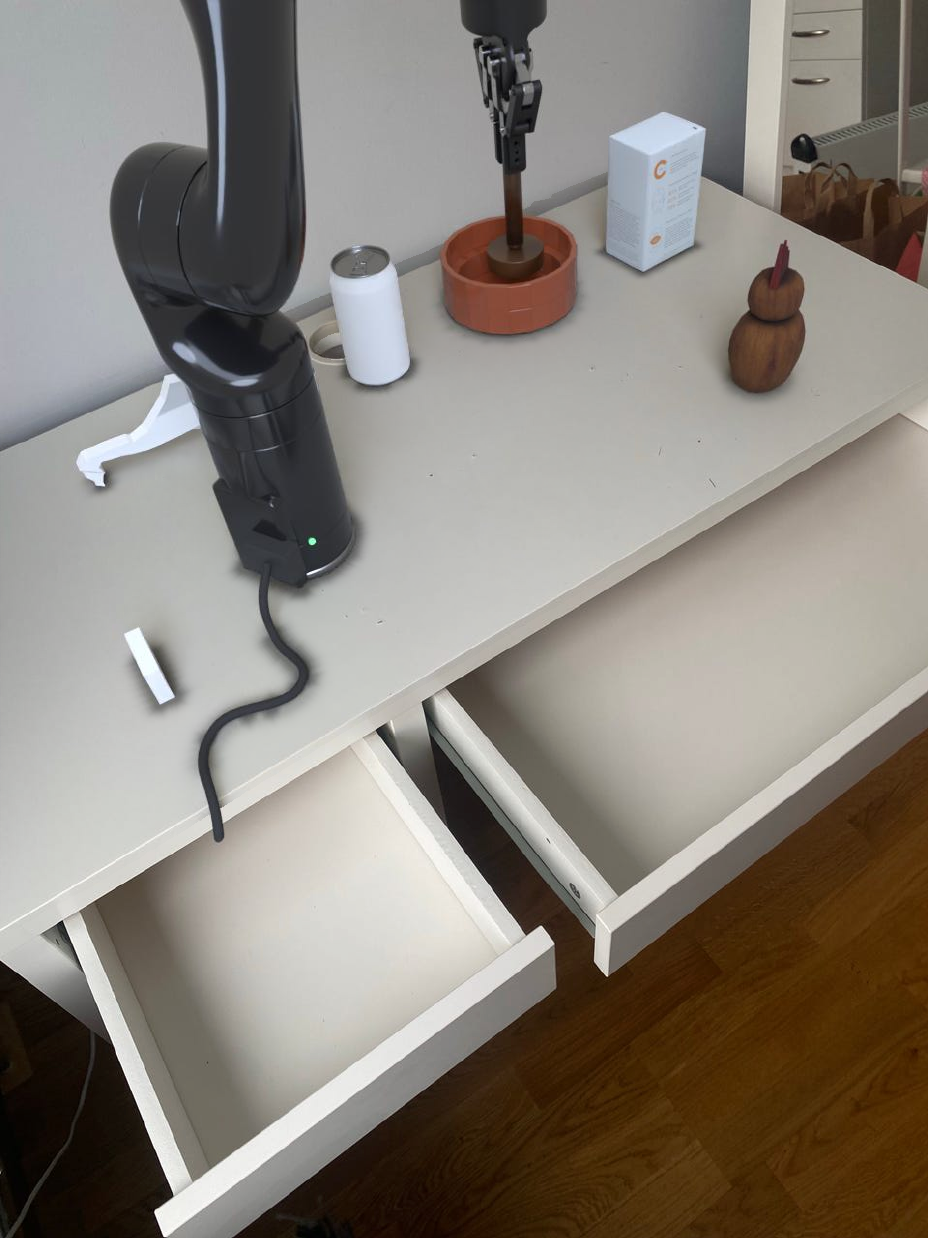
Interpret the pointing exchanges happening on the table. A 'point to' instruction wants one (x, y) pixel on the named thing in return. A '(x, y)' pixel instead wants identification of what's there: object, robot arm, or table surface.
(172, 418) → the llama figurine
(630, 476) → the table surface
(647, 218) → the small box
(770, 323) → the wooden figurine
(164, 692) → the eraser
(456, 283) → the bowl
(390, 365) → the can
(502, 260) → the brown post on disc
